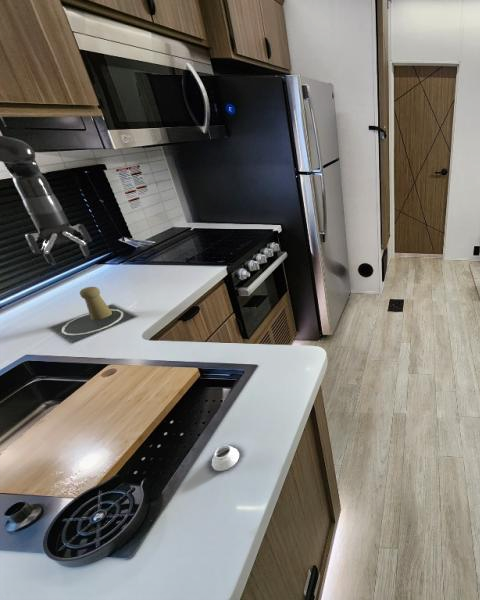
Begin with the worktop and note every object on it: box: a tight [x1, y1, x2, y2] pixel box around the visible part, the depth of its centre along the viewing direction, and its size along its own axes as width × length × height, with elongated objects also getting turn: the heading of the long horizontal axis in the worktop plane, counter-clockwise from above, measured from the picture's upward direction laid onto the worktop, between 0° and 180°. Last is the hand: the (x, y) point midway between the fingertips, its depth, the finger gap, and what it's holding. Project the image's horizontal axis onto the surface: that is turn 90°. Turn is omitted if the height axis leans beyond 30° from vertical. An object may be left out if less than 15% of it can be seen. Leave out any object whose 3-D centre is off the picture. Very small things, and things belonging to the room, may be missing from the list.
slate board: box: [50, 304, 136, 344], centre depth 116 cm, size 18×18×1 cm
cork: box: [79, 286, 112, 320], centre depth 117 cm, size 6×6×11 cm
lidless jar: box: [211, 444, 240, 472], centre depth 67 cm, size 5×3×5 cm
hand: (70, 260), depth 109 cm, fingers open, 8 cm apart
